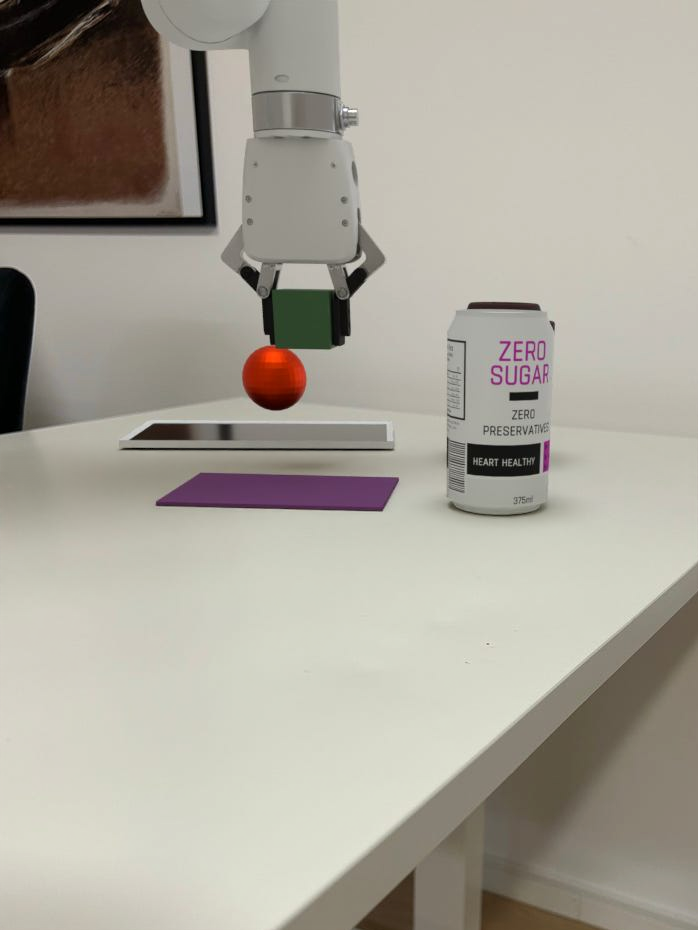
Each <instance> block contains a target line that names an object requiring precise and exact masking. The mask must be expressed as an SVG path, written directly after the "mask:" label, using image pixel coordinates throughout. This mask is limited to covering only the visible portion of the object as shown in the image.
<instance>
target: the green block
mask: <svg viewBox="0 0 698 930" xmlns="http://www.w3.org/2000/svg"><path fill="white" fill-rule="evenodd" d="M334 292H335V289H334V288H333V289H330V288H328V289H327V288H277V289H276V290H272V300H273V317H274V334H275V348H276V349H289V350H326V351H328V350H332V349H334V348H337V347H338V346H334V345H333V344H332V322H331V301H332V300H333V299H334Z"/></svg>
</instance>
